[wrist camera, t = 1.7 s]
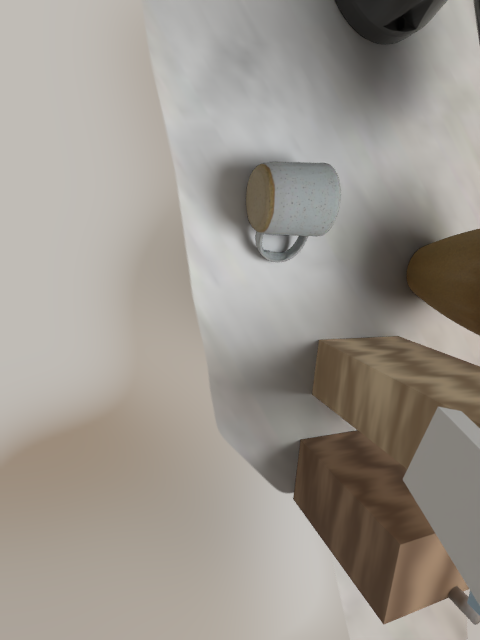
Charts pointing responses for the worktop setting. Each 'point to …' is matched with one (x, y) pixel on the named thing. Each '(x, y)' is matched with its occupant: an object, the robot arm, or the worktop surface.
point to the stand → (393, 388)
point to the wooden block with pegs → (375, 526)
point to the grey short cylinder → (292, 202)
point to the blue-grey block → (473, 603)
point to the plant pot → (450, 277)
